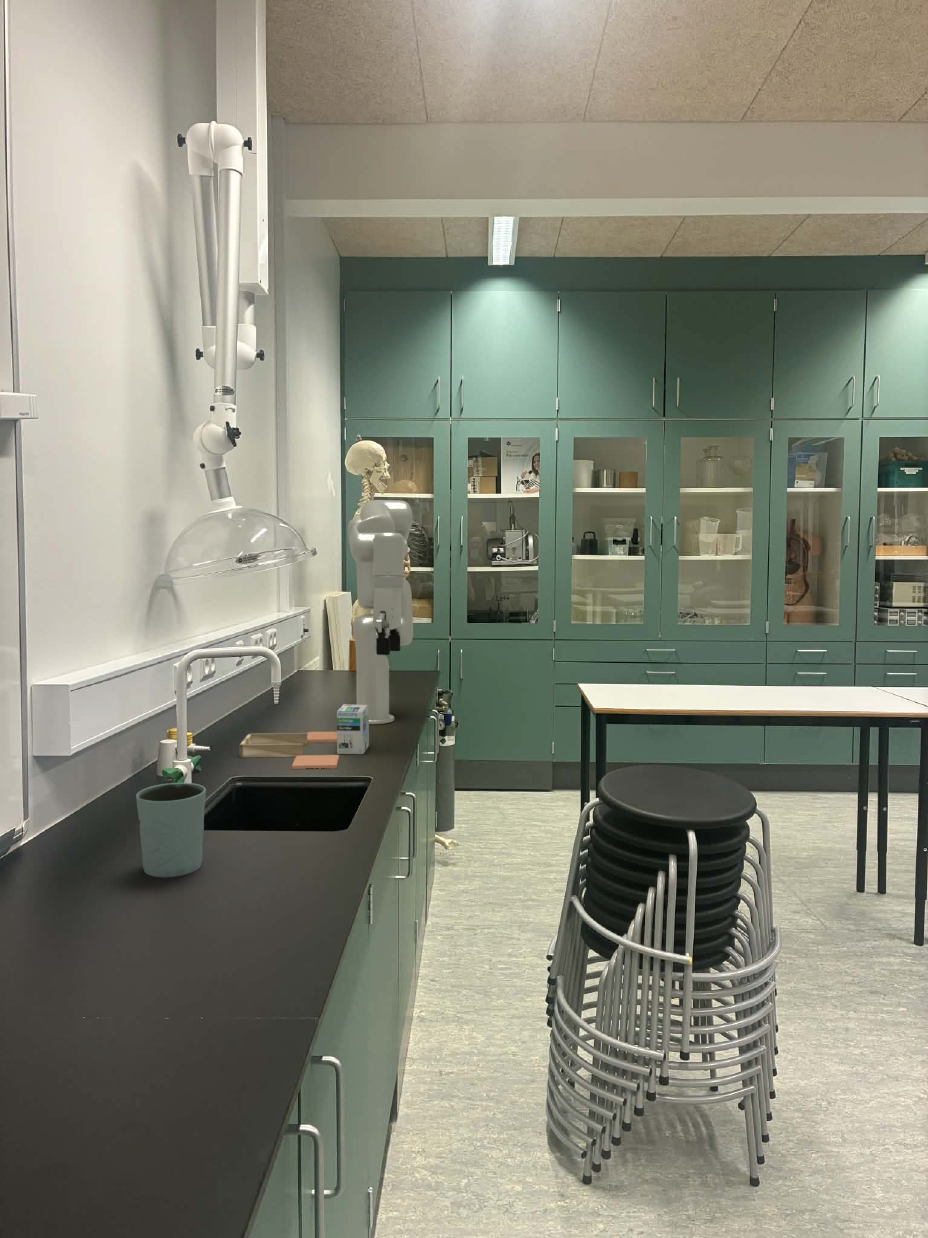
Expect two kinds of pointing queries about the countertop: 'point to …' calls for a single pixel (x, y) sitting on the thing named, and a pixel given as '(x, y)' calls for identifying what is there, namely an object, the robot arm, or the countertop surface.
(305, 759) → the plate
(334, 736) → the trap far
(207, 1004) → the countertop surface
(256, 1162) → the countertop surface
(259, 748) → the wooden tray
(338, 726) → the light bulb box
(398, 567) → the robot arm
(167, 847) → the teal cup
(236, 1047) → the countertop surface
